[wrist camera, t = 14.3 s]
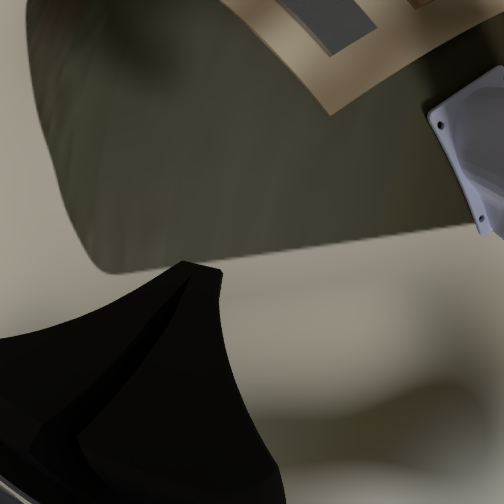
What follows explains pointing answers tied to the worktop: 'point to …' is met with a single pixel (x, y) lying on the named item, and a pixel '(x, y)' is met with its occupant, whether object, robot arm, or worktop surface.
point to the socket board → (361, 41)
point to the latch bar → (330, 21)
